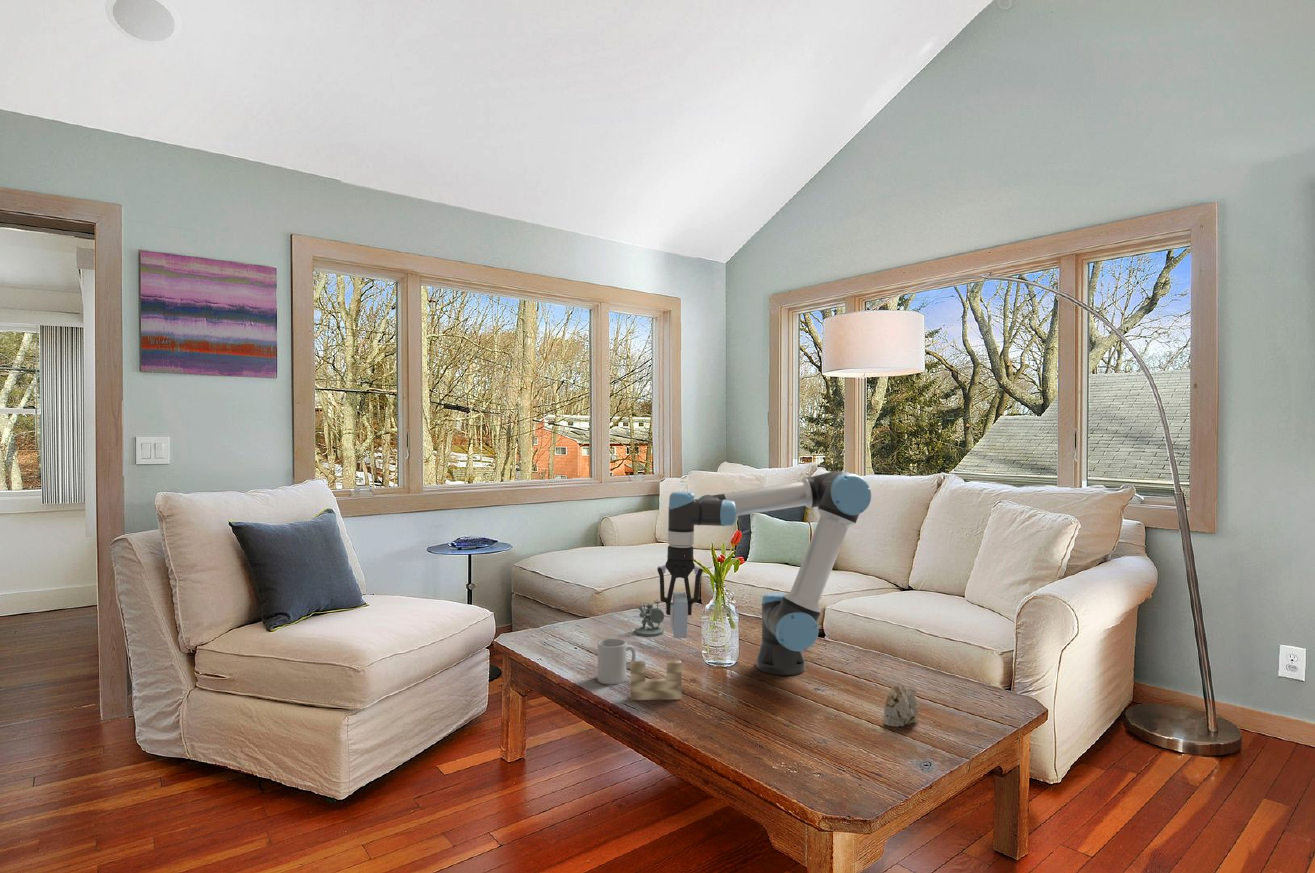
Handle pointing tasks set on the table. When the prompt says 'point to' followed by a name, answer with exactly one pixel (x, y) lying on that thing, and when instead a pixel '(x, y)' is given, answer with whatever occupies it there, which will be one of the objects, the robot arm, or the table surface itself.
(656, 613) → the figurine
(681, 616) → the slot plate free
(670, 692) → the slot plate fixed
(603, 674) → the mug
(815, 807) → the table surface
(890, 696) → the rock
